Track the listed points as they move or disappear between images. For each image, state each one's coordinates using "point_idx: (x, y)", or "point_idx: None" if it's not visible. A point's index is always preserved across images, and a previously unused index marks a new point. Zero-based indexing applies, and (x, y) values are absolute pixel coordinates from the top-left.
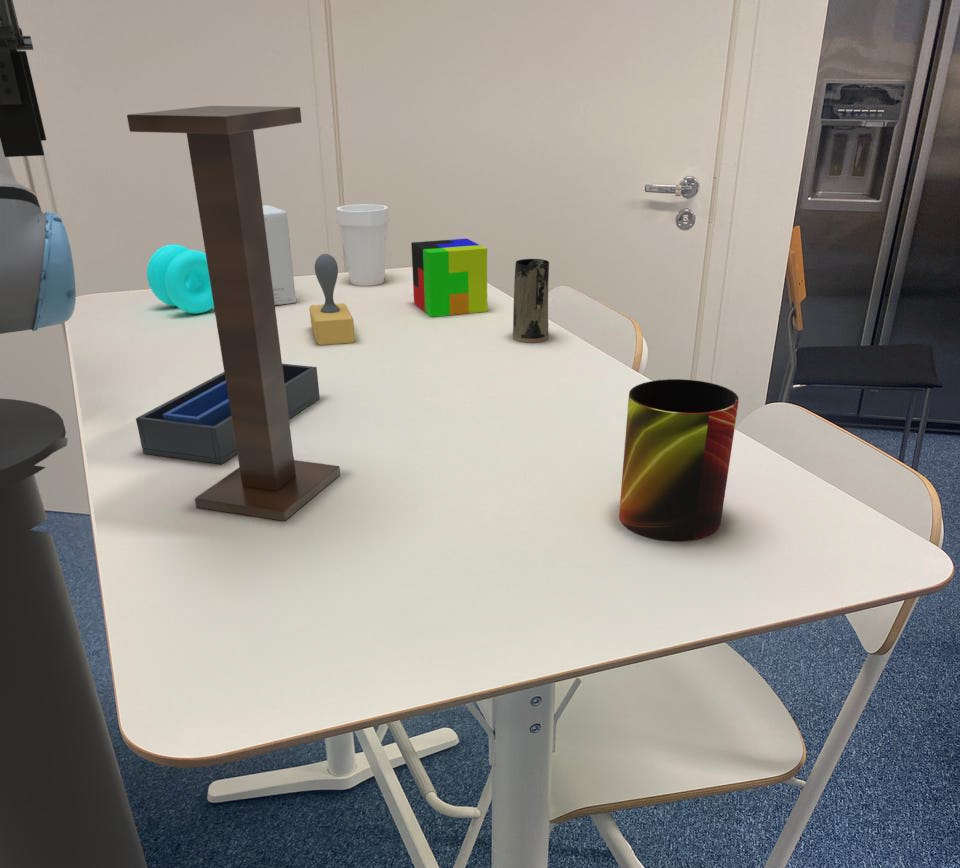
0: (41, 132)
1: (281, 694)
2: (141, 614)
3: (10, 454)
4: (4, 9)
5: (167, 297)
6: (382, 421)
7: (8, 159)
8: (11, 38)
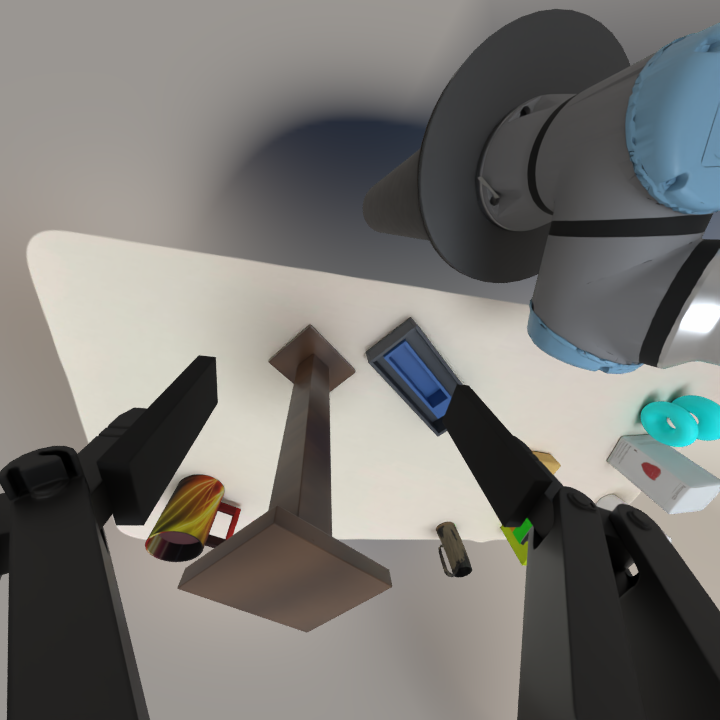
0: (447, 425)
1: (77, 304)
2: (182, 263)
3: (451, 236)
4: None
5: (680, 401)
6: (376, 438)
7: None
8: None
